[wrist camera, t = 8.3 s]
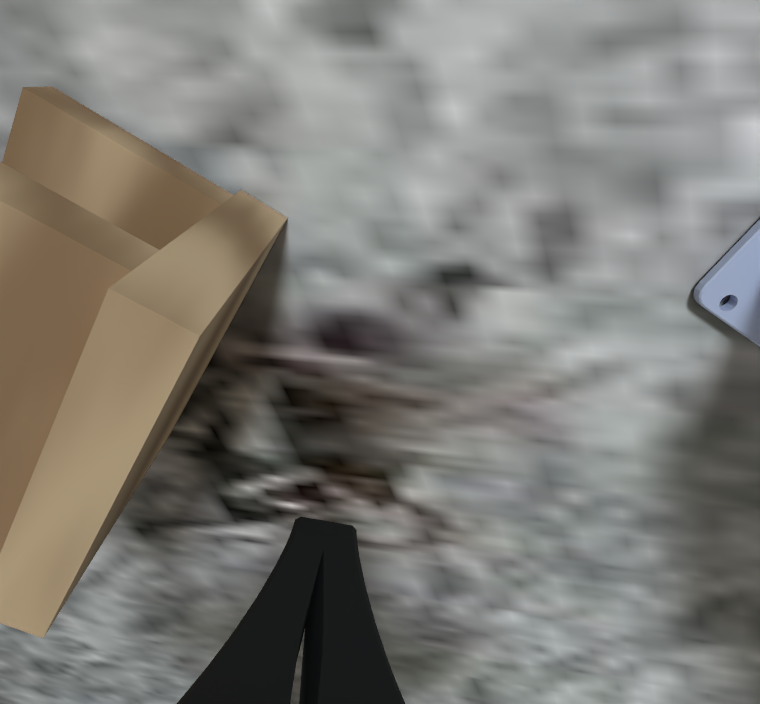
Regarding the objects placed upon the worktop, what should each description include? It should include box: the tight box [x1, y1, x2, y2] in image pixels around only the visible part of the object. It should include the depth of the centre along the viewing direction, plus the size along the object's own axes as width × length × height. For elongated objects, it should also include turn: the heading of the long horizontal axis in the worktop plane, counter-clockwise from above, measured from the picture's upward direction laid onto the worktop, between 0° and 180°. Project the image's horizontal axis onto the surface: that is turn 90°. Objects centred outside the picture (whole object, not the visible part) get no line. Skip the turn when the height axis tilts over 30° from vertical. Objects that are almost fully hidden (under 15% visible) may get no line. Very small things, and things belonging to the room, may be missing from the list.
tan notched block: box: [0, 87, 287, 638], centre depth 13 cm, size 8×9×6 cm
